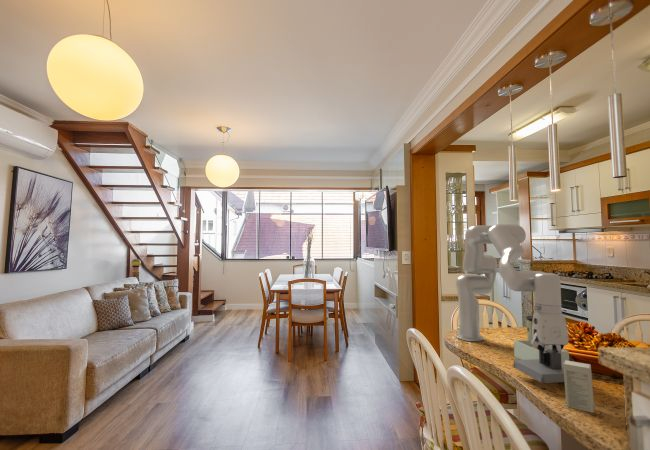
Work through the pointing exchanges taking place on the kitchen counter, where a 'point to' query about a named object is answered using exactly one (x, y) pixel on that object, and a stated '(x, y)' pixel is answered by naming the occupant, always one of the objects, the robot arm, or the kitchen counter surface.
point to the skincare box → (578, 386)
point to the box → (532, 351)
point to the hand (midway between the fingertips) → (550, 363)
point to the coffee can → (529, 327)
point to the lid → (543, 368)
